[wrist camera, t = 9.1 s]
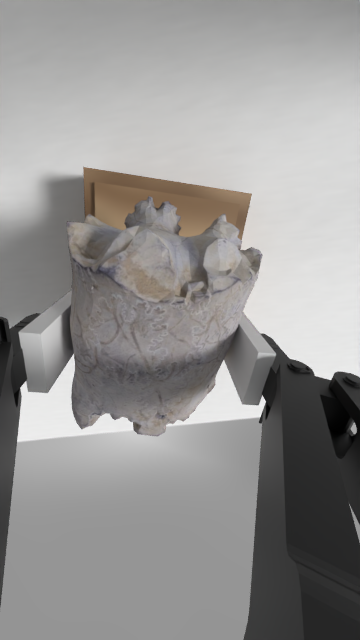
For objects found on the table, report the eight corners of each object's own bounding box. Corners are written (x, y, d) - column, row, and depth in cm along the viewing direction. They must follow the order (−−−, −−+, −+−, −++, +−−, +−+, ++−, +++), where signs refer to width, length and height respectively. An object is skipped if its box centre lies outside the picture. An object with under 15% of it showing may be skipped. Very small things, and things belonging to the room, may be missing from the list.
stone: (90, 370, 17) (49, 459, 11) (101, 187, 13) (40, 160, 6) (196, 383, 18) (214, 470, 12) (242, 220, 14) (309, 223, 7)
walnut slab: (98, 175, 20) (82, 166, 16) (236, 197, 21) (253, 193, 17) (100, 341, 26) (88, 364, 22) (205, 350, 27) (212, 373, 23)
